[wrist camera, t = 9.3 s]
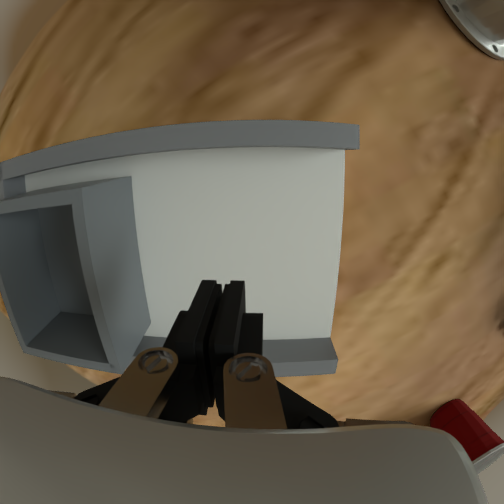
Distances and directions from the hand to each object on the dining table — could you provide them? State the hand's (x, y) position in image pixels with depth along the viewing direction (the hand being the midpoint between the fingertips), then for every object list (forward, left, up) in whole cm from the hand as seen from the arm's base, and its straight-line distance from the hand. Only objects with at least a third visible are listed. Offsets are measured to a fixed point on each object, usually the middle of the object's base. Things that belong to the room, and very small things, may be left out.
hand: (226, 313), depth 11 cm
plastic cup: (+26, +28, -11) cm, 40 cm away
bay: (+1, -7, -11) cm, 13 cm away
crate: (+1, -13, -10) cm, 16 cm away
